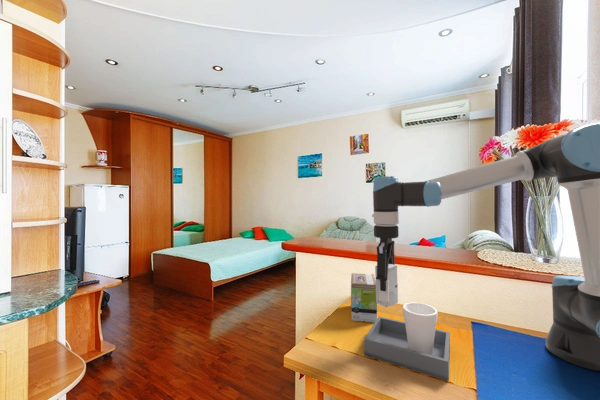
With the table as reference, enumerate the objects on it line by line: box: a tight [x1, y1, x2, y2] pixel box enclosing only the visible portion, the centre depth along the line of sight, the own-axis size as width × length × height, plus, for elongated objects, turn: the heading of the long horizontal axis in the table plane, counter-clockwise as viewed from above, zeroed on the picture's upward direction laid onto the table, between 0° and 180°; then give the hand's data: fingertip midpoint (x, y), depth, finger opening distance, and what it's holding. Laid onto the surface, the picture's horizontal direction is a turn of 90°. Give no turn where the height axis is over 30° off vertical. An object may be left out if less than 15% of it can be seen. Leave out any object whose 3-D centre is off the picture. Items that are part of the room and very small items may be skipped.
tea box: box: [350, 272, 378, 323], centre depth 105 cm, size 15×10×15 cm, turn 168°
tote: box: [363, 316, 451, 382], centre depth 78 cm, size 22×17×5 cm
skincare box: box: [374, 263, 399, 308], centre depth 82 cm, size 6×4×12 cm
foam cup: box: [402, 301, 439, 355], centre depth 76 cm, size 10×9×13 cm
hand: (386, 296), depth 82 cm, fingers closed on skincare box, 7 cm apart
